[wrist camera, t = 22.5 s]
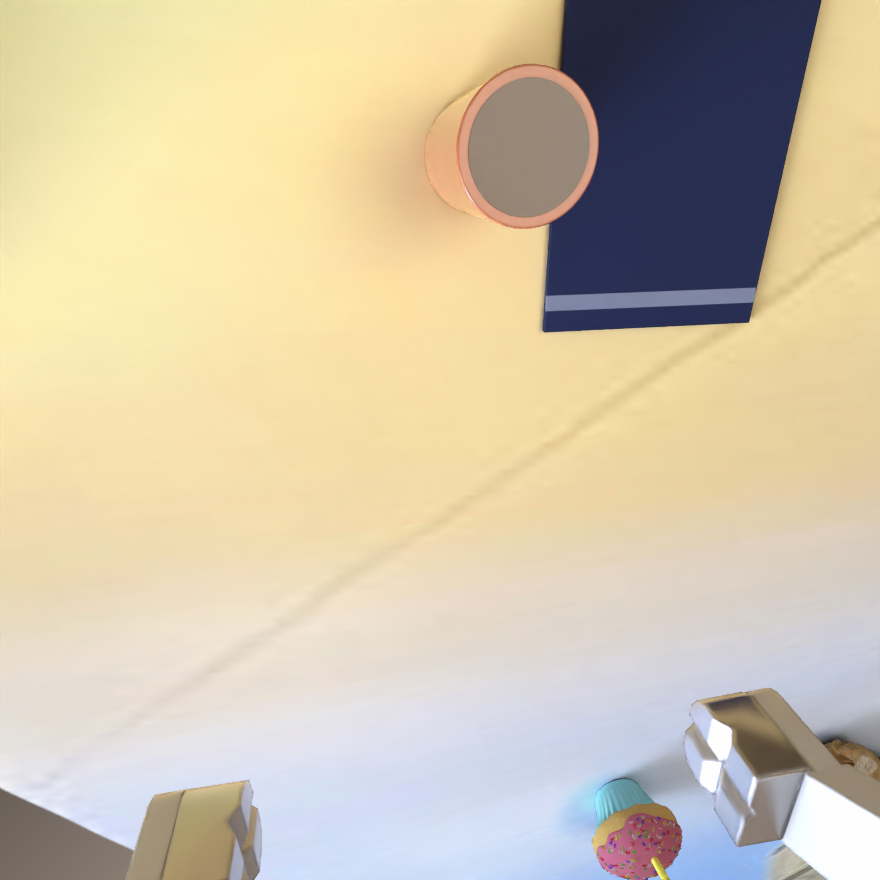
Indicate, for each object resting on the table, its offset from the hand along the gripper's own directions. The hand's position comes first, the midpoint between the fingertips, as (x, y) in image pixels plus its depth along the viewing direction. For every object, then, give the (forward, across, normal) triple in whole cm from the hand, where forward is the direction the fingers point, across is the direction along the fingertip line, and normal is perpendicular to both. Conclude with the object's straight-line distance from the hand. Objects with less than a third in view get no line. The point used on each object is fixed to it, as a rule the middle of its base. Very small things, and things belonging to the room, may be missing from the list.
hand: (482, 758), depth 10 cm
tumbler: (+27, +6, +10) cm, 30 cm away
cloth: (+27, +18, +10) cm, 34 cm away
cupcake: (+28, +20, -49) cm, 60 cm away
